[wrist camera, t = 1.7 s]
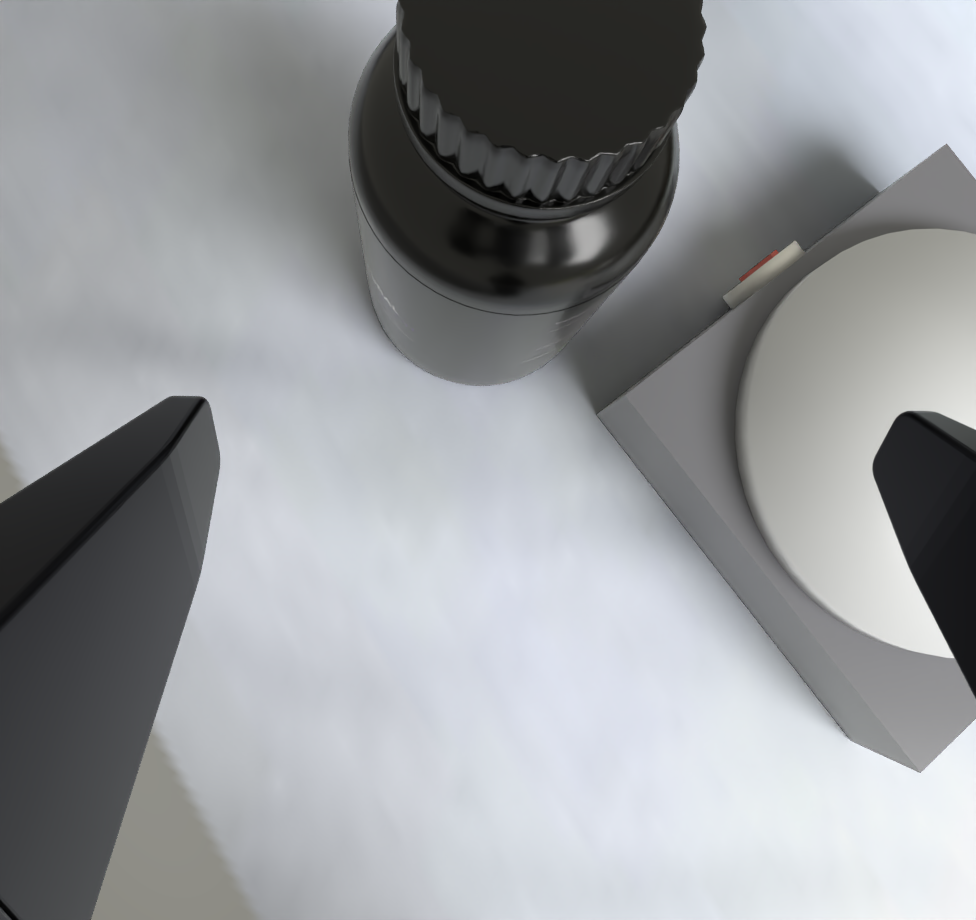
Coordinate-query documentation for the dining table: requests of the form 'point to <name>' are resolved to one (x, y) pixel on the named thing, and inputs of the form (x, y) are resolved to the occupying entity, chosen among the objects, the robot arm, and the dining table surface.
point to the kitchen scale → (828, 449)
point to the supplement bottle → (514, 169)
